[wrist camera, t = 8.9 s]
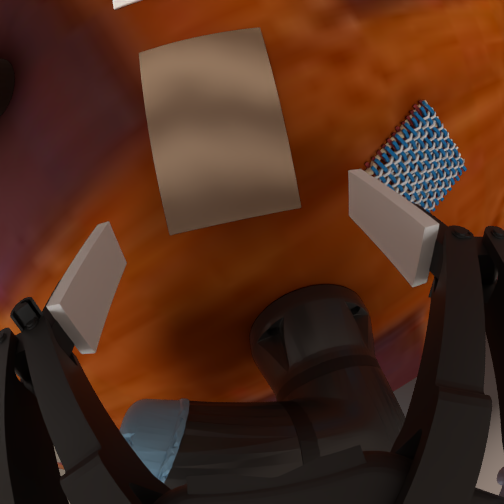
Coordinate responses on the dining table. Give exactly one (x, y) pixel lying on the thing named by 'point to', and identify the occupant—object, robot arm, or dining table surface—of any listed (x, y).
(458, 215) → the dining table surface
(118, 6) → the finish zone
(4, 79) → the coffee mug
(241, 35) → the ramp
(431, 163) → the woven mat
